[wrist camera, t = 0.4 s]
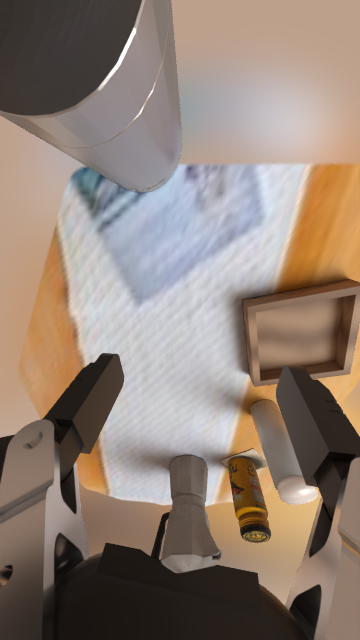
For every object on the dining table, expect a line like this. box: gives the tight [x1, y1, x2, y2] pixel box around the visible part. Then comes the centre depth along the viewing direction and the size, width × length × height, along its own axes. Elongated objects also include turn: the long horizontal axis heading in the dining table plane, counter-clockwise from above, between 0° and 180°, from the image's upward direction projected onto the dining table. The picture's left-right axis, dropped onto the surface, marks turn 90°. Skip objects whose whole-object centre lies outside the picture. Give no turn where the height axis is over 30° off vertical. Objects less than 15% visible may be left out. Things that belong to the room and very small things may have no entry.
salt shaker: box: [250, 400, 318, 504], centre depth 31 cm, size 5×5×13 cm
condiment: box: [221, 449, 271, 543], centre depth 39 cm, size 7×8×12 cm
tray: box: [242, 279, 360, 387], centre depth 28 cm, size 14×14×3 cm
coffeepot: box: [151, 455, 222, 573], centre depth 38 cm, size 15×9×18 cm, turn 128°
